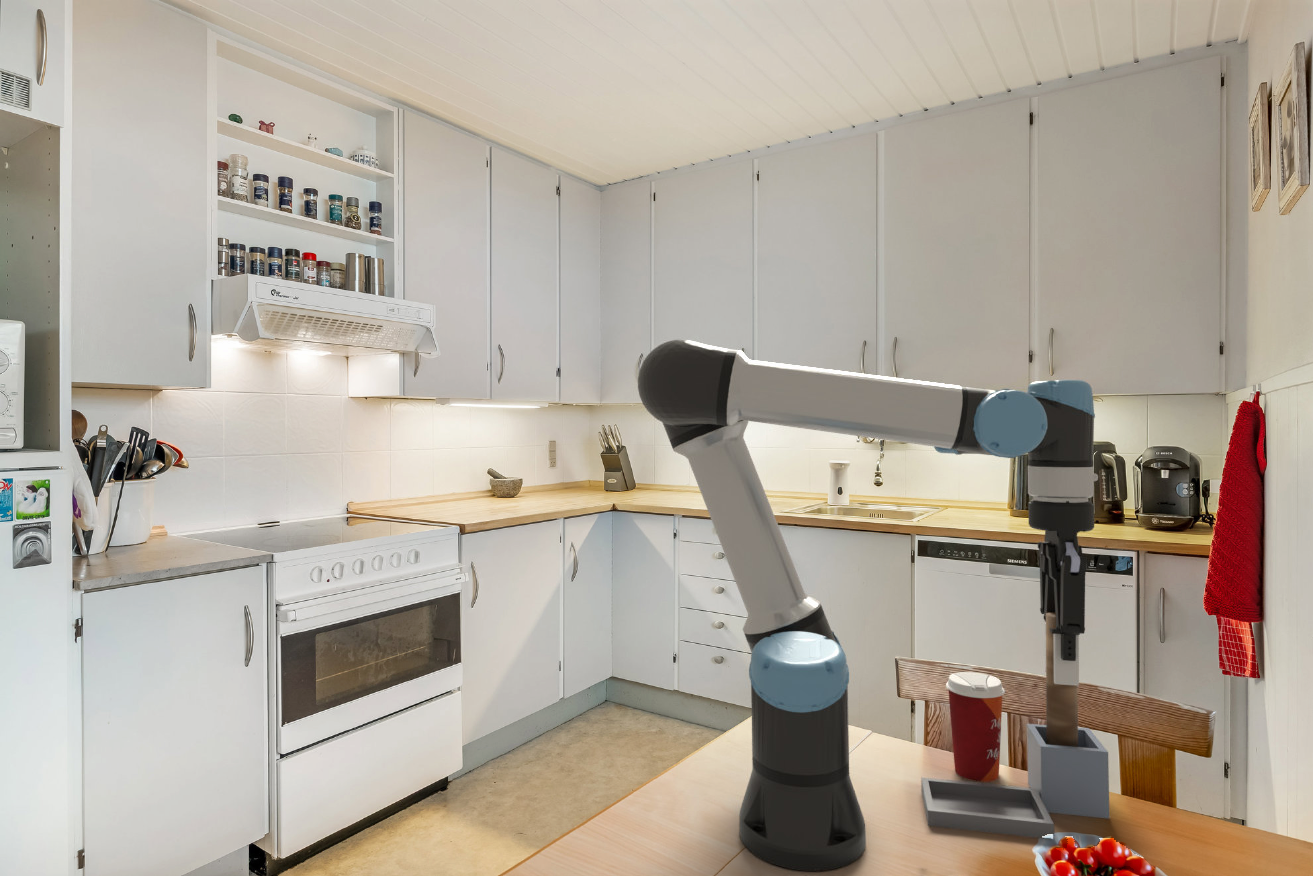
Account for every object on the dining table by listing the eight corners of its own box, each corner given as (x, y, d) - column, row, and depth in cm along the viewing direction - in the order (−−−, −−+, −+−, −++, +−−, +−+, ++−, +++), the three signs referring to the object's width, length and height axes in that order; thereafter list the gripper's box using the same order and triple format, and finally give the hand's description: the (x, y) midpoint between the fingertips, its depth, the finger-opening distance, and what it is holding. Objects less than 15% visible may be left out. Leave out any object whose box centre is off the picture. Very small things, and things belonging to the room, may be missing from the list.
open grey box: (1042, 817, 92) (1040, 746, 92) (1028, 789, 100) (1026, 723, 100) (1109, 824, 90) (1108, 752, 90) (1090, 795, 98) (1089, 728, 98)
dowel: (1050, 758, 94) (1049, 618, 94) (1043, 746, 97) (1042, 611, 97) (1081, 761, 93) (1081, 619, 93) (1073, 749, 96) (1072, 613, 96)
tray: (928, 831, 90) (927, 810, 90) (921, 796, 98) (921, 777, 98) (1054, 846, 86) (1053, 824, 86) (1035, 808, 95) (1035, 788, 95)
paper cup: (1013, 793, 99) (1011, 689, 99) (953, 788, 100) (951, 686, 100) (998, 767, 107) (996, 671, 107) (942, 763, 108) (940, 669, 108)
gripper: (1115, 505, 86) (1116, 703, 86) (1074, 494, 102) (1075, 661, 102) (1045, 504, 88) (1046, 698, 88) (1015, 493, 104) (1016, 658, 104)
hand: (1061, 678), depth 95 cm, fingers closed on dowel, 3 cm apart
